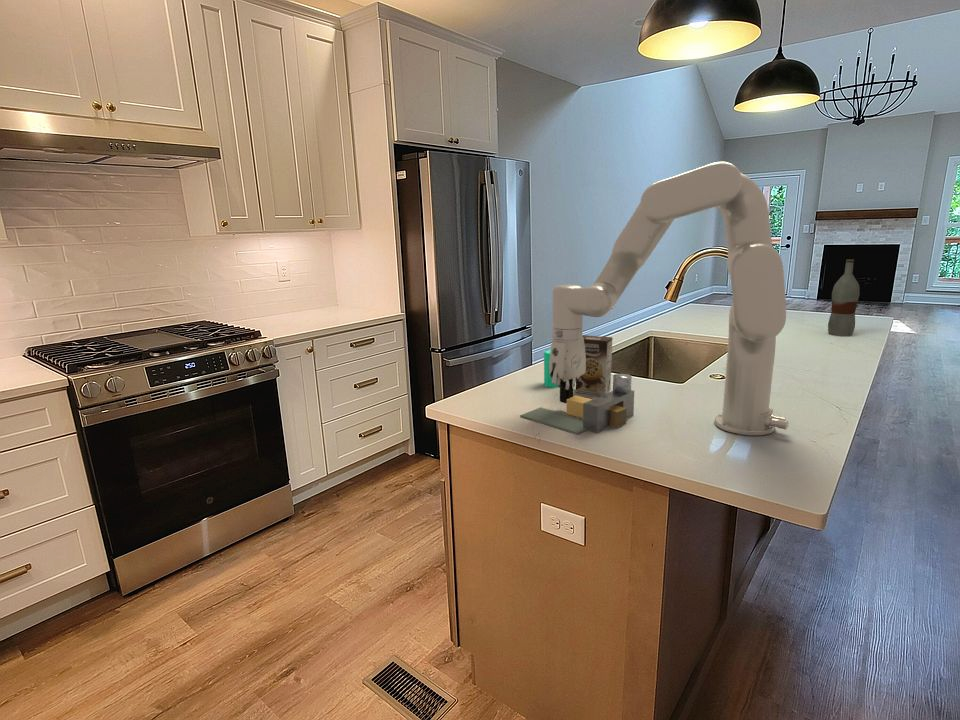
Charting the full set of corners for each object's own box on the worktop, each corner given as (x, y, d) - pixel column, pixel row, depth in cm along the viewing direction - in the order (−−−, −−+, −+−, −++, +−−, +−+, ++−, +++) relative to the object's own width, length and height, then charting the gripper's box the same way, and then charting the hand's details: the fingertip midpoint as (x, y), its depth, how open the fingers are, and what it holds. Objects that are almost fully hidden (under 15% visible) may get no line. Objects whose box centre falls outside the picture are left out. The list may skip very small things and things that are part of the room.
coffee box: (574, 392, 151) (575, 338, 147) (581, 386, 156) (581, 334, 152) (605, 396, 146) (607, 340, 142) (611, 389, 152) (612, 336, 148)
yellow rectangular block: (626, 423, 126) (626, 408, 125) (617, 428, 123) (617, 412, 122) (575, 409, 137) (575, 395, 136) (566, 413, 134) (566, 399, 133)
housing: (634, 415, 131) (635, 375, 128) (598, 433, 120) (598, 390, 118) (618, 411, 134) (620, 372, 132) (582, 428, 124) (582, 386, 121)
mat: (597, 424, 126) (597, 423, 126) (577, 434, 120) (577, 432, 120) (540, 408, 138) (540, 407, 138) (520, 416, 133) (520, 415, 133)
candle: (548, 388, 156) (548, 349, 153) (541, 383, 161) (540, 345, 158) (566, 386, 157) (567, 347, 154) (558, 381, 163) (558, 343, 160)
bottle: (822, 332, 216) (831, 259, 209) (846, 332, 215) (856, 258, 207) (833, 336, 207) (843, 260, 200) (858, 336, 206) (869, 260, 198)
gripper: (560, 340, 124) (559, 413, 128) (596, 331, 134) (594, 398, 138) (536, 336, 129) (536, 406, 134) (573, 327, 139) (572, 392, 143)
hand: (566, 402), depth 136 cm, fingers closed
